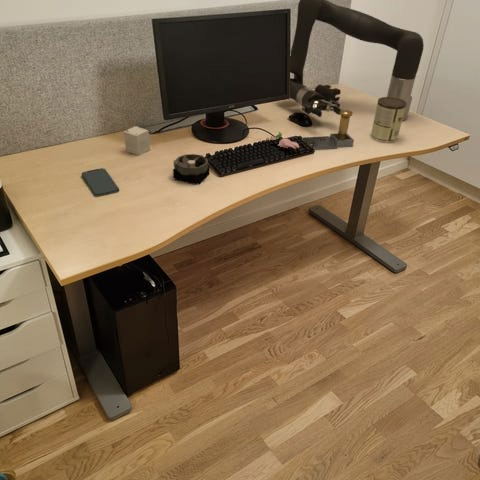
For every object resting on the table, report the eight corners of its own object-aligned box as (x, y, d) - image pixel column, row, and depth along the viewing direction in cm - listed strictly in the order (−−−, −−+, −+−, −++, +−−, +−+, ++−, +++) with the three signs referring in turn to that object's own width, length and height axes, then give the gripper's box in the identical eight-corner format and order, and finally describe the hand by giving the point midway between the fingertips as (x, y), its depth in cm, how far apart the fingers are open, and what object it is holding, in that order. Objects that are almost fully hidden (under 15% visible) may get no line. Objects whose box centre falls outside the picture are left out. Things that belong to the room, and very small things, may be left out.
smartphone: (94, 195, 133) (80, 172, 143) (95, 200, 134) (81, 176, 144) (120, 189, 136) (104, 167, 146) (120, 194, 137) (105, 171, 147)
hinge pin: (343, 140, 174) (349, 109, 167) (348, 145, 171) (354, 113, 164) (333, 140, 174) (338, 109, 166) (337, 145, 170) (342, 114, 163)
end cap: (312, 100, 211) (314, 85, 207) (323, 97, 214) (325, 82, 210) (328, 106, 204) (330, 91, 200) (339, 104, 208) (342, 89, 204)
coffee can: (373, 130, 184) (380, 95, 176) (399, 135, 180) (408, 99, 172) (367, 139, 176) (375, 103, 168) (395, 145, 173) (404, 108, 165)
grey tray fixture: (344, 137, 176) (345, 131, 175) (354, 147, 169) (355, 141, 168) (298, 140, 173) (298, 133, 171) (305, 150, 166) (306, 143, 164)
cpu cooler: (213, 156, 146) (199, 170, 138) (213, 173, 149) (200, 187, 141) (183, 151, 148) (168, 163, 141) (184, 167, 152) (169, 180, 144)
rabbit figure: (262, 146, 170) (291, 155, 160) (261, 130, 167) (290, 138, 157) (274, 142, 173) (303, 150, 163) (274, 127, 171) (303, 134, 160)
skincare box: (150, 150, 161) (149, 130, 156) (138, 156, 157) (136, 135, 152) (137, 145, 163) (136, 125, 159) (125, 151, 159) (123, 131, 155)
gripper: (294, 91, 182) (315, 105, 170) (325, 88, 187) (348, 101, 175) (292, 110, 186) (313, 125, 174) (323, 106, 191) (344, 120, 179)
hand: (330, 113), depth 175 cm, fingers open, 8 cm apart
